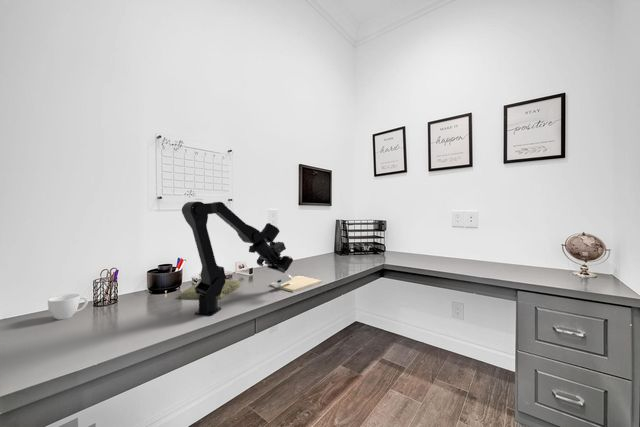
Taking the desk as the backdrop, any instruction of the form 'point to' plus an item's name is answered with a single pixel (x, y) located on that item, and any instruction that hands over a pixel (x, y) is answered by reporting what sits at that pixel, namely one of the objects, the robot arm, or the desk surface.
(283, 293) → the desk surface
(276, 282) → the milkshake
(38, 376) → the desk surface
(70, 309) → the cup
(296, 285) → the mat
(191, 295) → the olive green cushion
